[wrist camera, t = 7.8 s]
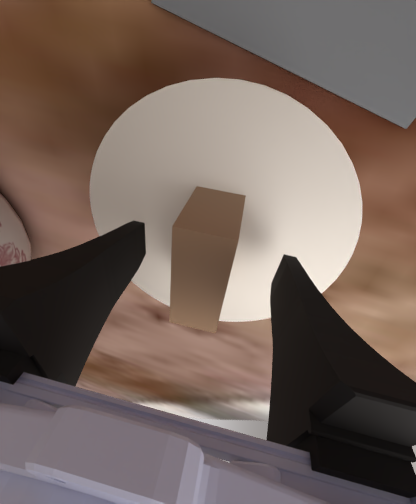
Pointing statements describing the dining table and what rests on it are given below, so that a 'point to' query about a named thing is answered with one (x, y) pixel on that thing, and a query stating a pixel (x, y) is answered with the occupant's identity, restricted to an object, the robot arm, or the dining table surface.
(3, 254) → the chamber pot
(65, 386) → the robot arm
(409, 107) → the mat
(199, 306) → the lid
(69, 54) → the dining table surface
